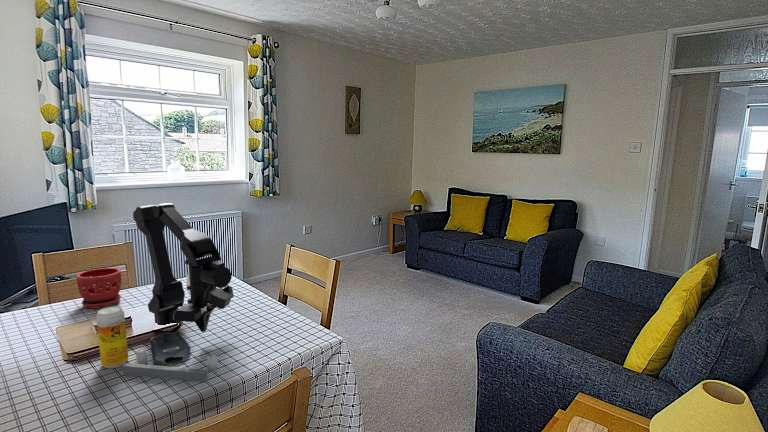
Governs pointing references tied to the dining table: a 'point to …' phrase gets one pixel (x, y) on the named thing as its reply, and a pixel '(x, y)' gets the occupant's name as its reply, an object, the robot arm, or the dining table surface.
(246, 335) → the dining table surface
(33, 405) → the dining table surface
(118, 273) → the plant pot
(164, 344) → the electronic device
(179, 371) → the dock
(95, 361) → the dining table surface
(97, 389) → the dining table surface
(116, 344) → the yellow pill bottle
